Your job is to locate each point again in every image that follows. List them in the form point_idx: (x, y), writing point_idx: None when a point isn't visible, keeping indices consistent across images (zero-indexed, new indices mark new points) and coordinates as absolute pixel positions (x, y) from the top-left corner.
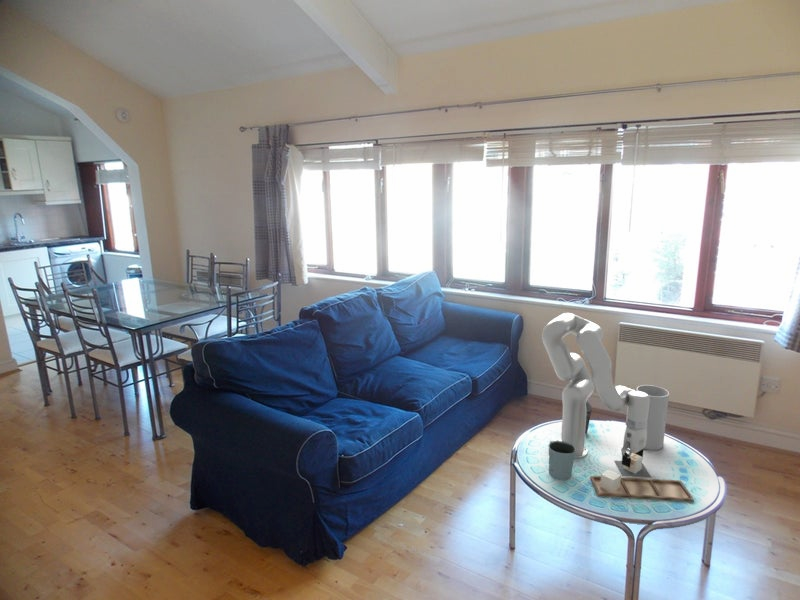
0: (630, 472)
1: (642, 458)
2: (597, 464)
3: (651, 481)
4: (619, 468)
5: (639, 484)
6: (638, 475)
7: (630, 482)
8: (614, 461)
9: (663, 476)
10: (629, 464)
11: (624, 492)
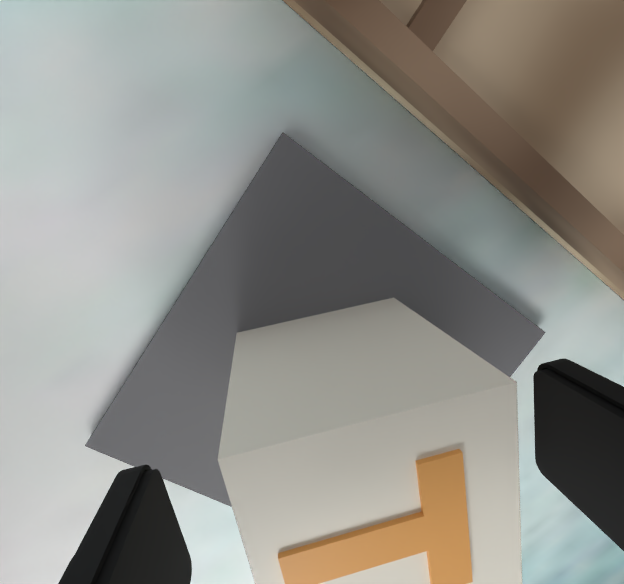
0: None
1: (223, 432)
2: (525, 557)
3: (442, 5)
4: None
5: (552, 109)
6: (391, 252)
7: (594, 195)
8: None
9: (70, 70)
10: (604, 382)
11: None
